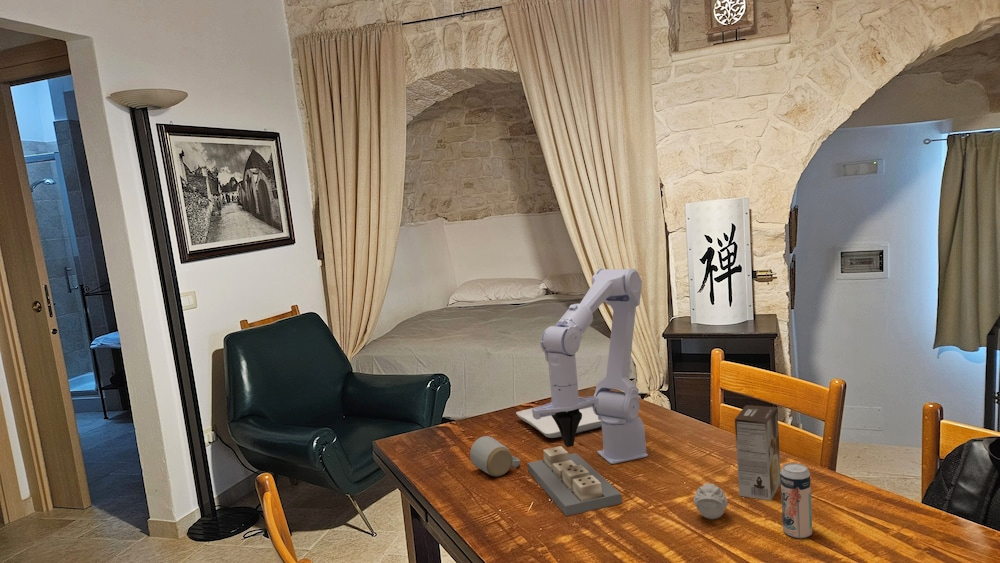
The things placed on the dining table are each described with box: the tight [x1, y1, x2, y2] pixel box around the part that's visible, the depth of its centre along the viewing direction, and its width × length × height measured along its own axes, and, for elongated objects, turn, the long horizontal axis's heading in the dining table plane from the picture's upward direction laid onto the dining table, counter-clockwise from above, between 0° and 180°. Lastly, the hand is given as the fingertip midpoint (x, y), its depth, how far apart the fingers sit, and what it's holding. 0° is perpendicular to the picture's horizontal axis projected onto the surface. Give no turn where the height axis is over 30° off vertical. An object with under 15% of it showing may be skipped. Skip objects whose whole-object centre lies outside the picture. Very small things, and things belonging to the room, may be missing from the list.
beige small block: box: [562, 465, 590, 490], centre depth 143 cm, size 4×4×3 cm
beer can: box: [780, 462, 814, 539], centre depth 118 cm, size 5×5×12 cm
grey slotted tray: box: [526, 452, 623, 517], centre depth 146 cm, size 12×24×2 cm, turn 16°
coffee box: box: [734, 404, 781, 502], centre depth 135 cm, size 9×6×16 cm
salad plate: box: [515, 396, 602, 439], centre depth 185 cm, size 21×21×3 cm
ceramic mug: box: [469, 435, 521, 477], centre depth 158 cm, size 11×8×8 cm
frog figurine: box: [693, 482, 729, 520], centre depth 126 cm, size 6×7×7 cm
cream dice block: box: [553, 460, 577, 479], centre depth 149 cm, size 4×4×3 cm
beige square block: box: [572, 475, 602, 502], centre depth 137 cm, size 4×4×3 cm
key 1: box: [542, 445, 569, 469], centre depth 154 cm, size 4×4×3 cm
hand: (568, 445), depth 144 cm, fingers closed
